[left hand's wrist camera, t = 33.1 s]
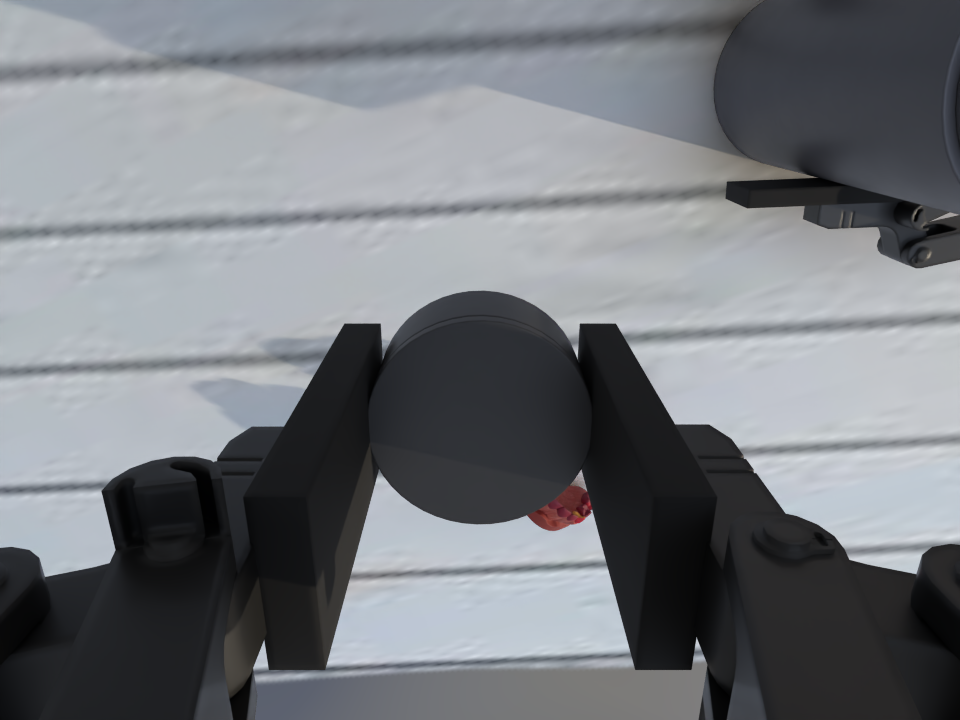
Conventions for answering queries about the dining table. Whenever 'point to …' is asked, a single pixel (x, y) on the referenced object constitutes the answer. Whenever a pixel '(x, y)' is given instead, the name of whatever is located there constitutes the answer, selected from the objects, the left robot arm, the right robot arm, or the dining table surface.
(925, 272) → the dining table surface
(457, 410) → the cap
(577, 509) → the dental model
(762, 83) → the bottle
